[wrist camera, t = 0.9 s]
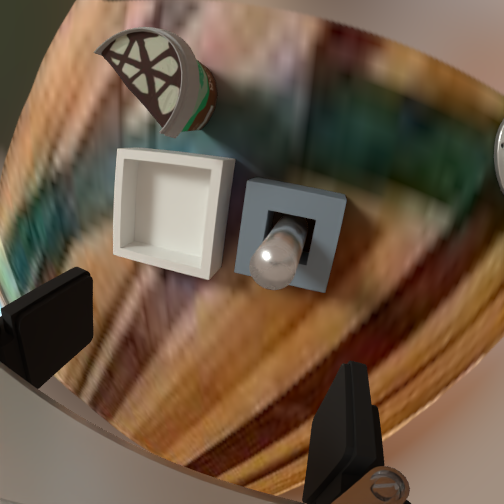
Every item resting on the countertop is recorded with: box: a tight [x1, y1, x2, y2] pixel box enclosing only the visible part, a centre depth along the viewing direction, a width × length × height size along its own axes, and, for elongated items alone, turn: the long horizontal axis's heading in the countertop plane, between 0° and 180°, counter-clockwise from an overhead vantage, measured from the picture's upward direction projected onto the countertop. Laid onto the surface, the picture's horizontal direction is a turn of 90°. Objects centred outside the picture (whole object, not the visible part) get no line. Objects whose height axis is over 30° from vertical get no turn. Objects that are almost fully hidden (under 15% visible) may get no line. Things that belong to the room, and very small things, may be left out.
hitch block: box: [234, 177, 347, 293], centre depth 31 cm, size 9×9×4 cm
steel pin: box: [249, 214, 308, 290], centre depth 28 cm, size 3×3×12 cm
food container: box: [94, 27, 218, 138], centre depth 26 cm, size 12×6×10 cm, turn 40°
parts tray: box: [113, 148, 236, 280], centre depth 34 cm, size 12×12×4 cm
